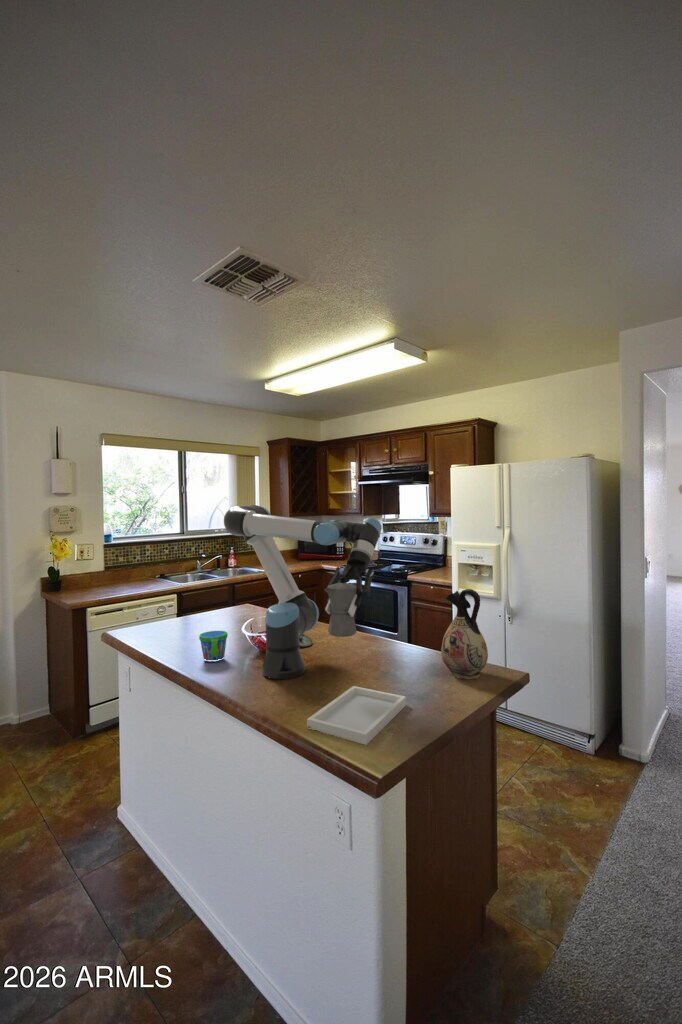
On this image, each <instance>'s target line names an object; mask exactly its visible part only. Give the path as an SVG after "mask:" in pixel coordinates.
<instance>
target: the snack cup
mask: <svg viewBox="0 0 682 1024" xmlns="http://www.w3.org/2000/svg"><path fill="white" fill-rule="evenodd" d="M227 638H228V632H227V631H225V630H210V631H205V632H203V633H200V634H199V636H198V639H199V641H200V645H201V646H200V647H201V652H202V657H203V660H204V659H206V660H218V659H222V658H223V657H224V658H225V656H226V655H225V654H226V645H227Z"/></svg>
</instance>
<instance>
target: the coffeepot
mask: <svg viewBox="0 0 682 1024" xmlns="http://www.w3.org/2000/svg"><path fill="white" fill-rule="evenodd" d="M340 581H341V583H337V584H333V585H329V586H328V585H327V586H328V588H327V587H325V588H324V592H326V593H327V595H328V596H329V597H330V604H331V607H332V611H331V614H330V618H329V623H328V628H327V631H328V634H329V635H330V636H333V637H337V638H338V637H339V638H343V637H344V638H345V637H352V636H355V634H357V625H356V620H355V615H354V616H353V617H351V616H350V614H349V613H348V611H349V608H350V605H351V602H352V600H353V598H354V596H355V594H356V595H357V593H356V592H357V585H356V582H351V583H349V582H347V583H344V581H345V578H344V577H342V576H341V578H340ZM362 588H364V584H362Z"/></svg>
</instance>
